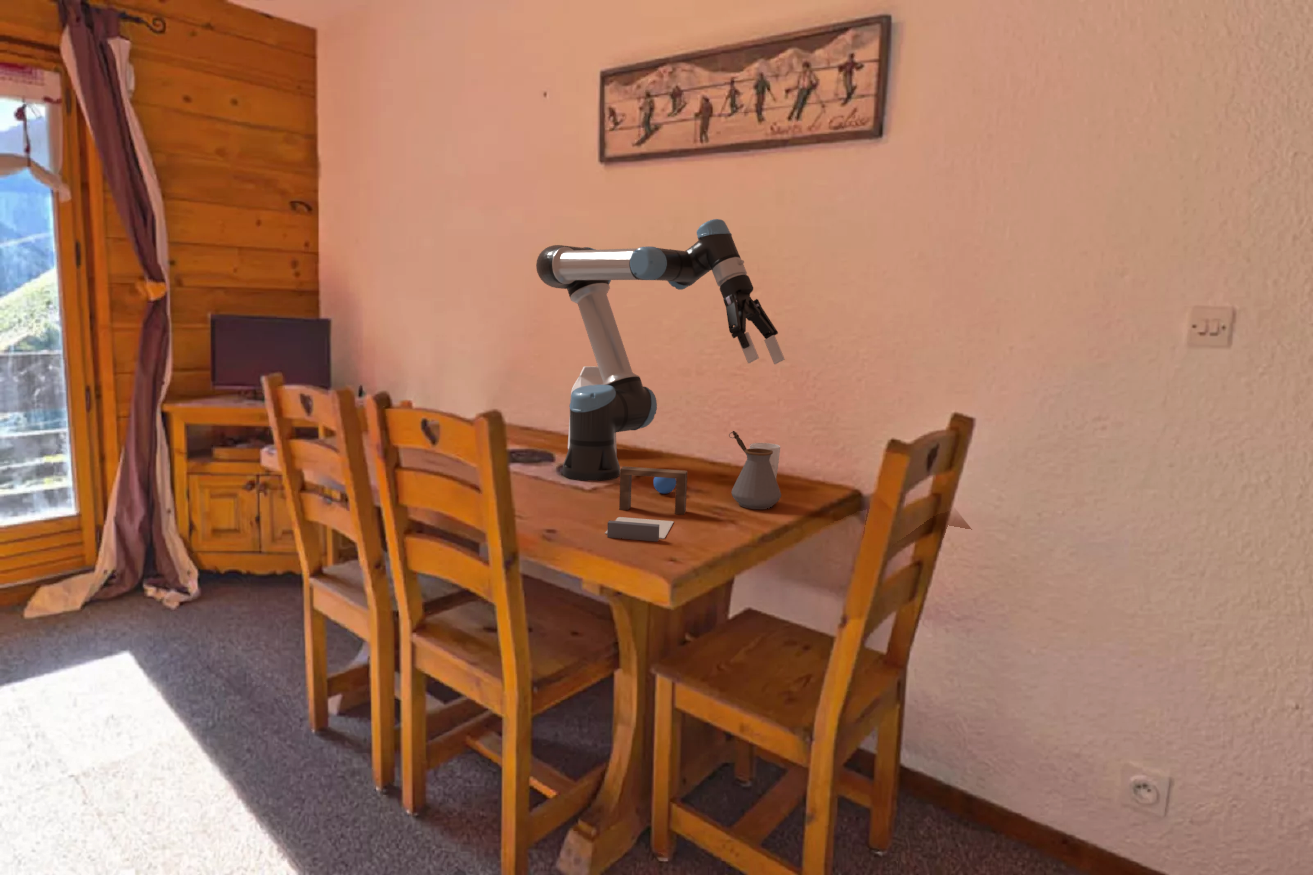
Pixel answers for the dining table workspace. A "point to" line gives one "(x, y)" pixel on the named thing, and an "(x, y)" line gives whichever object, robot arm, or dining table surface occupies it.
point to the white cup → (774, 457)
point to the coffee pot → (756, 479)
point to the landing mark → (663, 525)
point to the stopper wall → (633, 530)
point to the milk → (587, 378)
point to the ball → (664, 484)
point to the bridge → (651, 472)
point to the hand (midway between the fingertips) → (767, 361)
